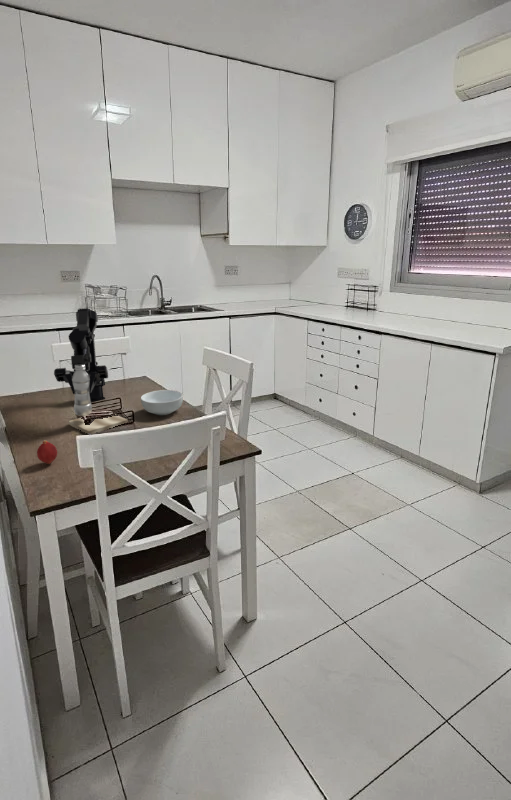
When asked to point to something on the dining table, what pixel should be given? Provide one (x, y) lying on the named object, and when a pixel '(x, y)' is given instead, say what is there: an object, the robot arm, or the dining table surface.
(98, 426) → the birch board
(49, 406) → the dining table surface
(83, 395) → the plastic bottle
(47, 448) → the onion
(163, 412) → the cereal bowl
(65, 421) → the dining table surface
